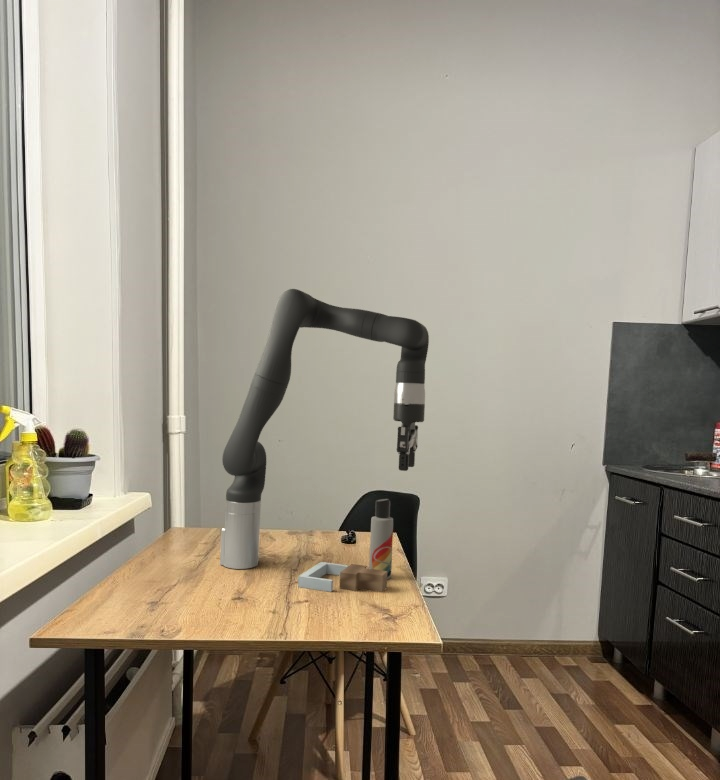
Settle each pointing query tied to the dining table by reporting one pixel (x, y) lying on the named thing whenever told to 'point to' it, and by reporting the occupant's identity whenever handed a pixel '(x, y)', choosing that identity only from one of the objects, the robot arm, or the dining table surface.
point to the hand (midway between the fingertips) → (406, 468)
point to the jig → (314, 575)
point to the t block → (363, 578)
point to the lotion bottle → (381, 537)
